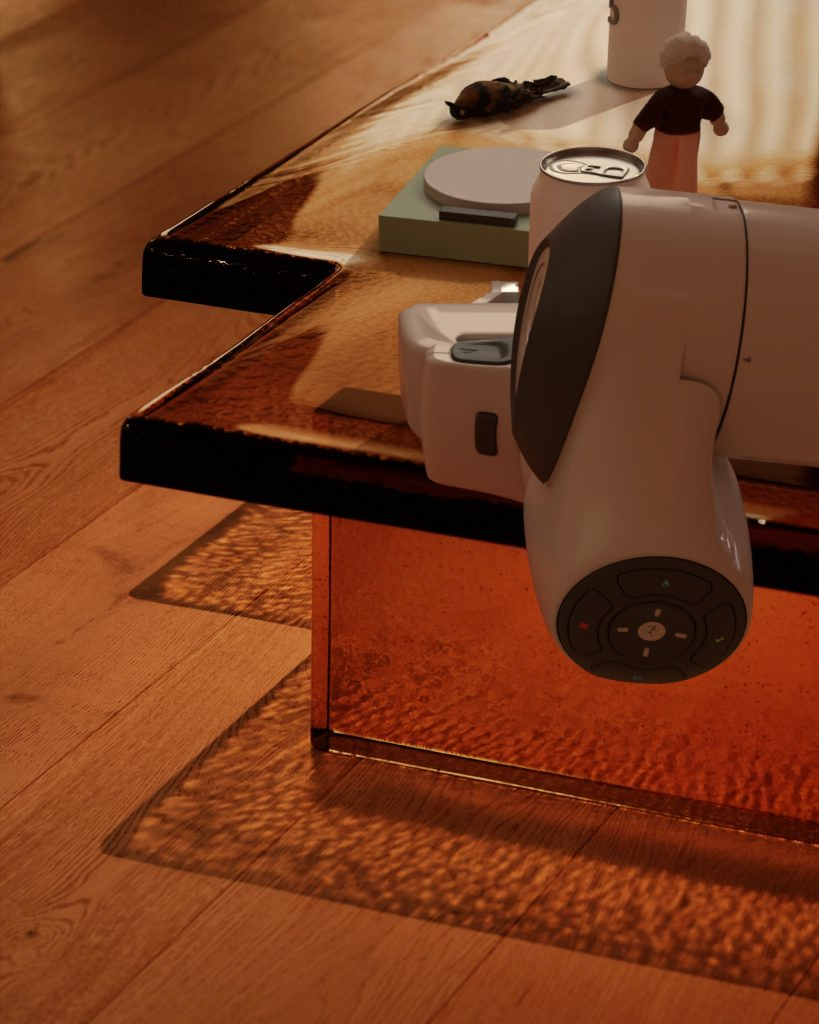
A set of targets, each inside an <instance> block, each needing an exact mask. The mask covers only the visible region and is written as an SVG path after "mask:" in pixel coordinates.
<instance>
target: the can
mask: <svg viewBox="0 0 819 1024" xmlns="http://www.w3.org/2000/svg"><path fill="white" fill-rule="evenodd" d="M551 152H552V153H549V154H547V155H546V156H544V157H543V158H542V159H541V160H540V163H539V168H540V173H539V175H538V177H537V179H536V181H535V182H534V185H533V187H532V190H531V197H530V221H529V256H528V266H529V264H530V261H531V259H532V256H533V254H534V252H535V250H536V248H537V247H538V245H539V244H540V242H541V241H542V240H543V239H544V238H545V237H546V236H547V235H548V234H549V233H550V232H551V231H552V230H553V229H554V227H555V226H556V225H557V224H558V223H559V222H560V221H561V220H563V219H564V218H565V217H566V216H567V215H568V214H569V213H570V212H571V211H572V210H573V209H574V208H575V207H577V206H578V205H579V204H580V203H581V202H583V201H584V200H586V199H587V198H588V197H590V196H591V195H593V194H595V193H596V192H598V191H600V190H601V189H603V188H606V187H608V186H610V185H615V186H622V187H641V188H650V185H649V183H648V180H647V178H646V175H645V172H646V169H647V162H646V160H644V159H643V158H642V157H641V156H639V155H637V154H635V153H630V152H627V151H625V150H624V149H620V148H614V147H607V146H594V145H593V146H592V145H591V146H589V145H588V146H587V145H586V146H574V147H566V148H561V149H558V150H554V151H551Z"/></svg>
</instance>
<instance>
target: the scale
mask: <svg viewBox="0 0 819 1024" xmlns="http://www.w3.org/2000/svg"><path fill="white" fill-rule="evenodd" d="M552 152H553V151H549V150H544V149H539V148H534V147H533V148H531V147H530V148H529V147H522V146H488V147H487V146H485V147H477V148H476V147H475V148H468V147H458V146H448V145H440V146H439V147H438V148H437V149H436V150H435V152H433V154H432V155H431V156H430V157H429V158H428V160H426V162H425V163H424V164H423V165H422V166H421V167H420V169H419V170H417V171H416V173H415V174H414V175H413V176H412V177H411V179H410V180H409V181H408V182H407V183H406V184H405V185H404V186H403V188H402V189H401V190H400V191H399V192H398V193H397V194H396V195H395V196H394V198H392V200H391V201H390V202H389V203H388V204H387V205H386V206H385V207H384V209H383V210H382V211H381V212H380V213H379V214H378V217H377V218H378V249H379V252H383V253H384V252H385V253H393V254H402V255H411V256H419V257H428V258H438V259H445V260H454V261H455V260H456V261H464V262H473V263H482V264H491V265H499V266H509V267H516V268H517V267H518V268H526V269H528V256H529V221H530V197H531V190H532V187H533V185H534V182H535V181H536V179H537V177H538V175H539V173H540V168H539V163H540V160H541V159H542V158H543V157H544V156H546V155H547V154H549V153H552Z"/></svg>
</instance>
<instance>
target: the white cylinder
mask: <svg viewBox="0 0 819 1024" xmlns="http://www.w3.org/2000/svg"><path fill="white" fill-rule="evenodd" d="M608 8H609V16H607V22H608V40H607V42H608V43H607V63H606V79H607V80H608V81H609V82H610V83H612V84H614V85H616V86H620V87H625V88H632V89H640V90H641V89H645V90H647V89H660V88H663V87H665V86H668V85H670V83H669V82H668V80H667V79H666V77H665V73H664V69H662V68H661V67H660V66H659V62H660V57H659V51H660V50H661V48H662V46H663V45H664V44H665V41H666V40H667V39H669V38H670V37H672V36H673V35H677V34H679V33H682V32H685V31H686V23H687V9H688V0H608Z"/></svg>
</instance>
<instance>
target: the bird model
mask: <svg viewBox="0 0 819 1024" xmlns="http://www.w3.org/2000/svg"><path fill="white" fill-rule="evenodd" d="M570 86H571V82H569V81H568V80H567V81H566V80H565V79H564V78H563V77H558V75H554V74H550V75H549V76H546V77H544V78H537V79H534V78H533V79H532V81H529V80H524V81H522V82H520V83H519V82H518V80H516V79H515V80H514V81H512V80H510V78H508V77H506V76H501V77H496V78H492V79H491V80H477V81H474V82H472V83H470V84H468V85H466V86H464V88H462V90H461V91H460V93H459V94H458V95H457V97H456V99H455V101H454V102H452V101H448V100H444V104H445V105H446V106H447V107H448V108H449V109H448V110H449V114H450V116H451V117H452V118H453V119H455V120H456V121H466V120H469V119H473V118H474V119H475V118H477V119H487V118H491V117H494V116H498V115H499V116H500V115H501V114H506V113H508V114H509V112H511V111H515V110H517V109H520V108H521V107H524V106H525V105H528V104H530V103H532V102H535V101H538V100H542V99H545V98H547V95H546V94H550V93H554V92H555V93H556V92H559V91H562V90H566V89H567V88H568V87H570Z"/></svg>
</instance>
